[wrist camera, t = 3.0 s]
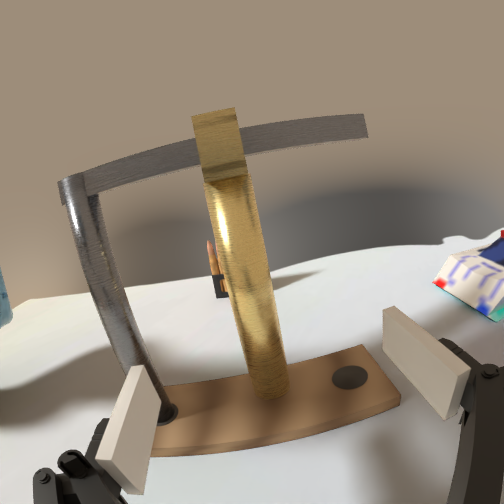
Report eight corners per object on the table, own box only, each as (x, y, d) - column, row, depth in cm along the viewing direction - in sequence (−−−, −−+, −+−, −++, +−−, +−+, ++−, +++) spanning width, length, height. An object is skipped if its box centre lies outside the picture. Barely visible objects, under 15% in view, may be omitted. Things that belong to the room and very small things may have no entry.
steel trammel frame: (146, 424, 25) (54, 182, 19) (151, 405, 28) (71, 181, 22) (385, 374, 26) (366, 112, 19) (374, 359, 28) (351, 119, 22)
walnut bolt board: (143, 456, 22) (136, 447, 21) (158, 396, 31) (153, 387, 31) (399, 405, 23) (401, 394, 22) (362, 353, 32) (362, 343, 32)
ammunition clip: (268, 289, 59) (257, 231, 56) (267, 293, 57) (255, 233, 54) (219, 294, 61) (205, 239, 58) (216, 298, 60) (202, 242, 57)
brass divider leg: (257, 411, 24) (187, 117, 18) (253, 384, 28) (193, 127, 22) (295, 402, 25) (238, 106, 18) (287, 377, 29) (236, 118, 22)
